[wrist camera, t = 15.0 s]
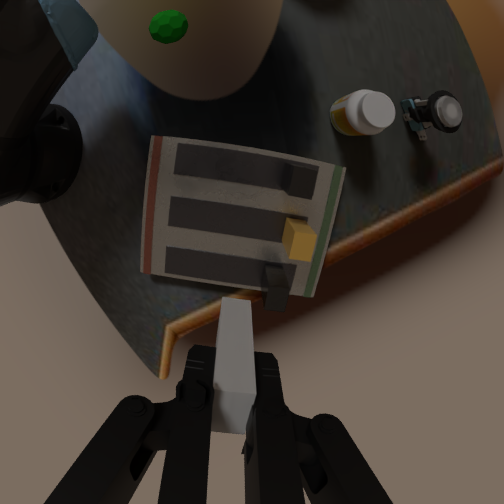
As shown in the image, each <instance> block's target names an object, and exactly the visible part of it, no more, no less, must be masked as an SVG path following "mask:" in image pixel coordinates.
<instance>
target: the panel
mask: <svg viewBox="0 0 504 504" xmlns="http://www.w3.org/2000/svg"><path fill="white" fill-rule="evenodd" d="M345 172H346V168H345V167H341V166H337V165H333V164H329V163H325V162H321V161H316V160H312V159H307V158H303V157H298V156H293V155H288V154H283V153H278V152H273V151H268V150H262V149H256V148H251V147H244V146H238V145H232V144H225V143H218V142H210V141H202V140H194V139H185V138H175V137H164V136H152V135H151V141H150V148H149V156H148V164H147V173H146V182H145V193H144V204H143V218H142V236H141V263H140V272H143V273H145V274H155V275H160V276H166V277H172V278H179V279H185V280H191V281H198V282H204V283H211V284H217V285H224V286H231V287H238V288H245V289H252V290H260V291H261V292H262V300H263V307H264V310H271V311H280V312H285V308H286V304H287V300H288V296H289V294H291V295H299V296H303V297H314V294H315V290H316V287H317V283H318V280H319V276H320V273H321V269H322V266H323V262H324V258H325V255H326V251H327V247H328V243H329V240H330V236H331V232H332V228H333V224H334V220H335V216H336V211H337V207H338V203H339V199H340V194H341V190H342V185H343V181H344V176H345ZM286 217H287V218H293V219H299V220H304V221H306V222H307V223H308V225H309V226H310V227H311V228H312V229H313V231H314V232H315V233H316V234H317V238H316V242H315V246H314V250H313V254H312V258H311V262H308V261H301V260H294V259H289V258H288V255H287V253H286V250H285V248H284V245H283V243H282V236H283V231H284V227H285V222H286Z"/></svg>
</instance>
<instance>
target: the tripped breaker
mask: <svg viewBox="0 0 504 504" xmlns="http://www.w3.org/2000/svg"><path fill="white" fill-rule="evenodd" d="M316 238H317V234H316V233H315V232H314V231H313V229H312V228H311V227H310V226H309V225H308V223H307V222H306V221H304V220H299V219H293V218H287V217H286V222H285V227H284V231H283V236H282V243H283V245H284V248H285V250H286V253H287V255H288V258H289V259H294V260H301V261H308V262H311V258H312V254H313V250H314V246H315V242H316Z"/></svg>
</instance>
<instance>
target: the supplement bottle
mask: <svg viewBox="0 0 504 504" xmlns="http://www.w3.org/2000/svg"><path fill="white" fill-rule="evenodd" d="M394 118H395V107H394V105H393V103H392V101H391V100H390V98H389V97H388V96H386V95H385V94H383V93H381V92H374V91H371V90H359V91H356V92H354V93H351V94H349V95H347V96H344V97H342V98H340V99H338V100H337V101H335V102H334V103H333V105H332V107H331V109H330V119H331V122H332V124H333V126H334V128H335V129H336V130H337V131H339V132H340V133H342V134H344V135H348V136H358V135H374V134H377V133H380V132H381V131H383V130H384V129H385V127H388V126H389V125H390V124H391V123H392V122H393V120H394Z"/></svg>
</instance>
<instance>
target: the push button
mask: <svg viewBox="0 0 504 504" xmlns="http://www.w3.org/2000/svg"><path fill="white" fill-rule="evenodd" d="M439 96H440V97H441V98H438V97H439ZM401 105H402V107H403V109H404V112H405V114H403V117H404V120H405V121H408V122H409V124H410V127H411V129H412V131H416V132H417V134H418V136H419V139H420V140H427V136H426V133H425V132H426V131H425V129H427V128H429V127H431V126H434V127H435V128H437V129H438V130H441V131H443V132H446V133H453V132H456V131H457V130H458V129H459V127H460V125H461V122H462V110H461V107H460V105H459V103H458V101H457V99H456V98H455V97H454V96H453V95H452V94H451V93H449V92H447V91H444V90H441V91H437V92H435V93H434V94H432V95H431V96H430V97H429V98H428V100H421V98H420V97H419V96H417V97H412V98H409V99H406V100H403V101H401ZM405 116H406V118H407V119H406V118H405ZM444 126H448V127H444ZM420 135H421V136H422V138H420ZM424 135H425V138H424V137H423V136H424Z"/></svg>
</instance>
